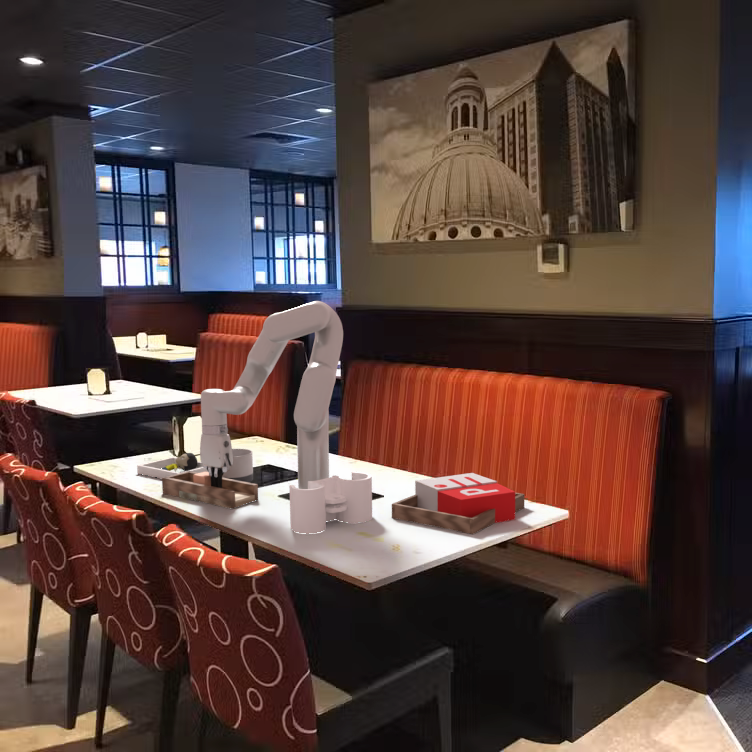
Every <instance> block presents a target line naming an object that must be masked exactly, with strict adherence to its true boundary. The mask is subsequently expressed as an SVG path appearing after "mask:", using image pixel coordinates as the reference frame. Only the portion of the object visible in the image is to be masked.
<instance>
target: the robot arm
mask: <svg viewBox="0 0 752 752" xmlns="http://www.w3.org/2000/svg"><path fill="white" fill-rule="evenodd" d="M313 333H314V341H313V346H312V350H311V354H310V358H309V362H308V366H307V367H306V369H305V371H304V372H303V375H302V377H301V378H302V379H301V381H300V385H299V386H300V387H299V389H298V395H297V398H296V403H295V407H294V411H293V420H294V423H295V425H296V427H297V428H296V430H297V431H296V434H297V436H296V437H297V438H296V439H297V440H296V443H297V448H296V449H297V481H298V482H297V483H298V484H297V488H299V489H308V481H316V480H321V479H326V478H330V455H329V453H330V451H329V449H330V447H329V446H330V445H329V444H330V443H329V442H330V441H329V438H330V437H329V435H330V434H329V426H330V425H329V423H330V422H329V419H330V418H329V417H330V412H329V407H330V404H331V400H332V396H333V393H334V392H333V391H334V386H335V384H336V379H337V370H338V365H339V362H340V356H341V353H342V347H343V341H344V329H343V323H342V320H341V319H340V317H339V315H338V313H337V312H336V311H335V310H334V308H332V307H331V306H330V305H329V304H327V303H326V302H324V301H321V300H314V301H311V302H308V303H305V304H302V305H300V306H297V307H294V308H291V309H288V310H284V311H280V312H275V313H273V314H269V316H268V317H266V318H265V320H264V322H263V325H262V330H261V331H260V334H259V335H258V337H257V339H256V341H255V342H254V343H253V346H252V347H251V350H250V351H249V352H248V355H247V359H246V363H245V367H244V370H243V371H242V373H241V375H240V376H239V379H238V380H237V382H236V384H235V385H234V387H233V389H232V390H226V391H225V390H224V389H221V388H207V389H204V390H203V391H202V392H201V393H200V409H201V411H200V412H201V432H202V433H201V435H200V441H199V442H200V444H199V445H200V447H199V459H200V462H201V463H202V464H203V468H205V469H207V470H208V472H209V476H211V486H212V487H217V488H222V476H223V475H224V472H228V471H230V468H229V466H231V465H232V464H233V455H232V449H233V448H232V447H233V446H232V440H231V437H230V434H228V431H229V428H228V418H227V417H228V416H227V414H228V415H236V416H237V415H243V414H245V413H246V412H247V411H248V410H249V409H250V408H251V407H252V406H253V404H254V402H255V401H256V398H257V397H258V395H259V394H260V392H261V389H262V388H263V386H264V384H265V383H266V381H267V379H268V377H269V375H270V374H271V373H272V371H273V370H274V369H275V366H276V364H277V362H278V361H279V359H280V357H281V355H282V353H283V352H284V350H285V348H286V346H287V345H288V343H289V341H291V340H295V339H298V338H300V337H304V336H307V335H310V334H313Z"/></svg>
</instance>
